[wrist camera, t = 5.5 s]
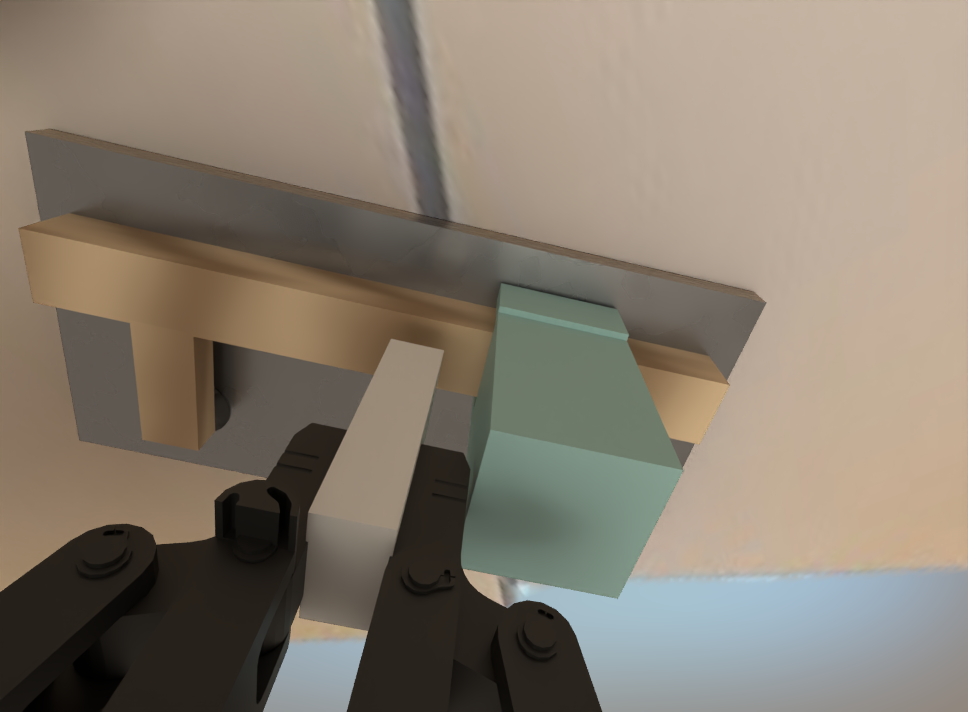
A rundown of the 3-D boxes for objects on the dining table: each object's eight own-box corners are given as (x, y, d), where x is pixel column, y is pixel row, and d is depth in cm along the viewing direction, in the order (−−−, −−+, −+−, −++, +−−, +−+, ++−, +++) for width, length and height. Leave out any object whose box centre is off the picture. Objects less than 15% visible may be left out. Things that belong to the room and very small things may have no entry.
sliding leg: (453, 473, 21) (424, 669, 14) (500, 283, 17) (492, 421, 10) (550, 493, 21) (568, 696, 14) (617, 309, 18) (687, 462, 11)
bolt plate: (96, 426, 23) (78, 441, 22) (50, 128, 17) (22, 131, 16) (634, 534, 24) (639, 553, 23) (754, 291, 18) (767, 303, 17)
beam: (96, 394, 21) (57, 424, 19) (69, 212, 17) (18, 228, 15) (637, 505, 22) (648, 543, 20) (709, 356, 18) (729, 385, 17)
